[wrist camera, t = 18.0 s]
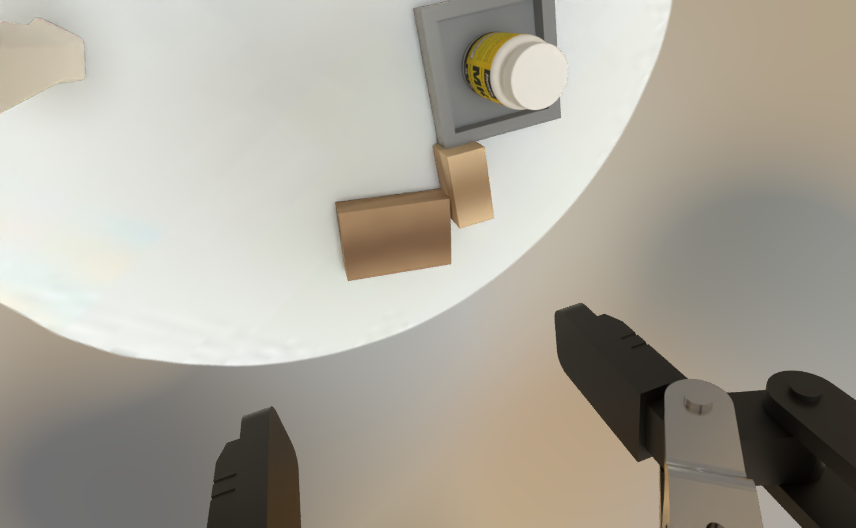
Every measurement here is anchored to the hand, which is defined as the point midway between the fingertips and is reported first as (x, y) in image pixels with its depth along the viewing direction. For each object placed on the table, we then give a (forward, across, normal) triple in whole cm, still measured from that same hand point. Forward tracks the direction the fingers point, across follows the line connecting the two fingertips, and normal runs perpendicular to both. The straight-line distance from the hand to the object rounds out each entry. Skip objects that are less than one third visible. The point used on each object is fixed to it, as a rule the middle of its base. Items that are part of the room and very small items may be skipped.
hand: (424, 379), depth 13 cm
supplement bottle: (+28, -14, -3) cm, 31 cm away
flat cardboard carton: (+28, -3, +8) cm, 30 cm away
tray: (+28, -14, -3) cm, 31 cm away
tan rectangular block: (+28, -10, +5) cm, 30 cm away
